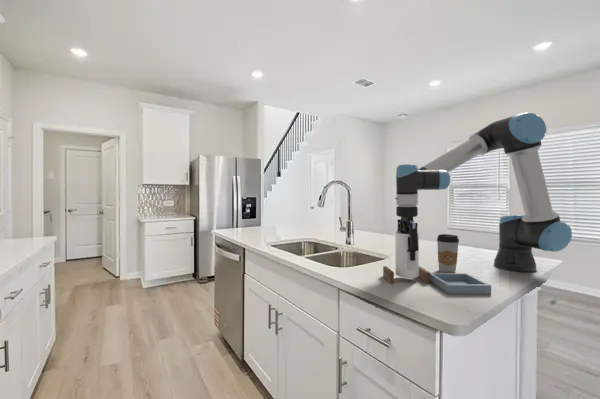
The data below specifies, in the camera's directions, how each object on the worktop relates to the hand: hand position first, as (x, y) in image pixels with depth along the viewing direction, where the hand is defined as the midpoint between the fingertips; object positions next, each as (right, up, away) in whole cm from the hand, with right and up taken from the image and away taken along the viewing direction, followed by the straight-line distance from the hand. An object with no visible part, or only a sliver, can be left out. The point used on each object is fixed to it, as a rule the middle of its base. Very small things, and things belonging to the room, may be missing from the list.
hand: (406, 265), depth 112 cm
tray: (+15, -6, -9) cm, 18 cm away
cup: (0, -4, 0) cm, 4 cm away
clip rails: (0, -5, 0) cm, 5 cm away
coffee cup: (+21, -5, +12) cm, 25 cm away
